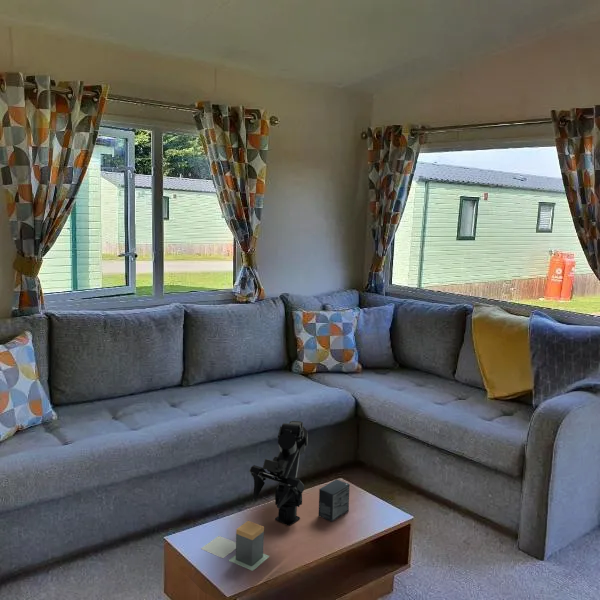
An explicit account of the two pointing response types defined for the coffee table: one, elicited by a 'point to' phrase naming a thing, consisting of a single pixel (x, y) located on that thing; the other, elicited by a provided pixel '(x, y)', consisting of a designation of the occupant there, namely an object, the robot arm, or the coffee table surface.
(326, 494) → the small box
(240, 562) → the stand
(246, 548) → the base
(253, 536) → the cover
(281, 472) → the robot arm
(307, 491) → the coffee table surface
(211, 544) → the stand
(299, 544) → the coffee table surface
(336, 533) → the coffee table surface
